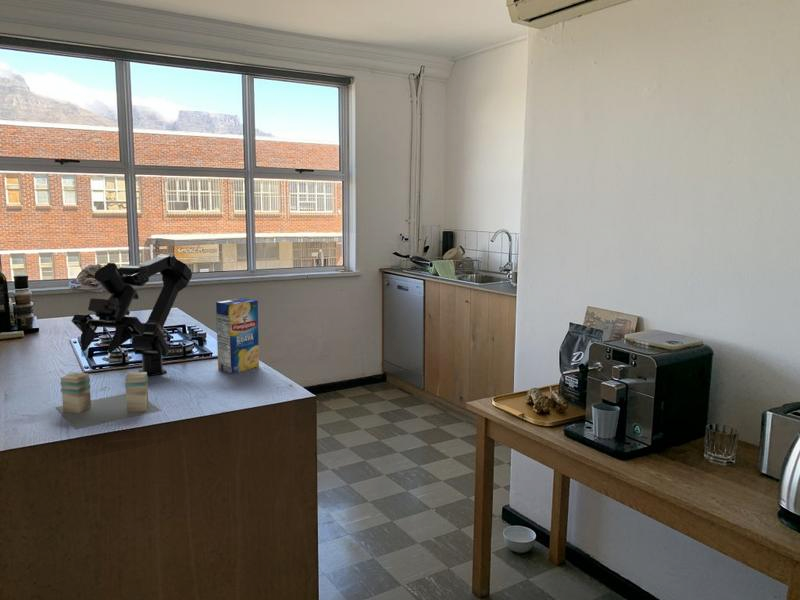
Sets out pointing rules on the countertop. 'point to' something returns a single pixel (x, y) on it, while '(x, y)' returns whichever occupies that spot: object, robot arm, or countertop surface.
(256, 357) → the beverage box
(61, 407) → the mat
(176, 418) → the countertop surface
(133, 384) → the post
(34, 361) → the countertop surface
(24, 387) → the countertop surface
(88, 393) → the beige striped block
